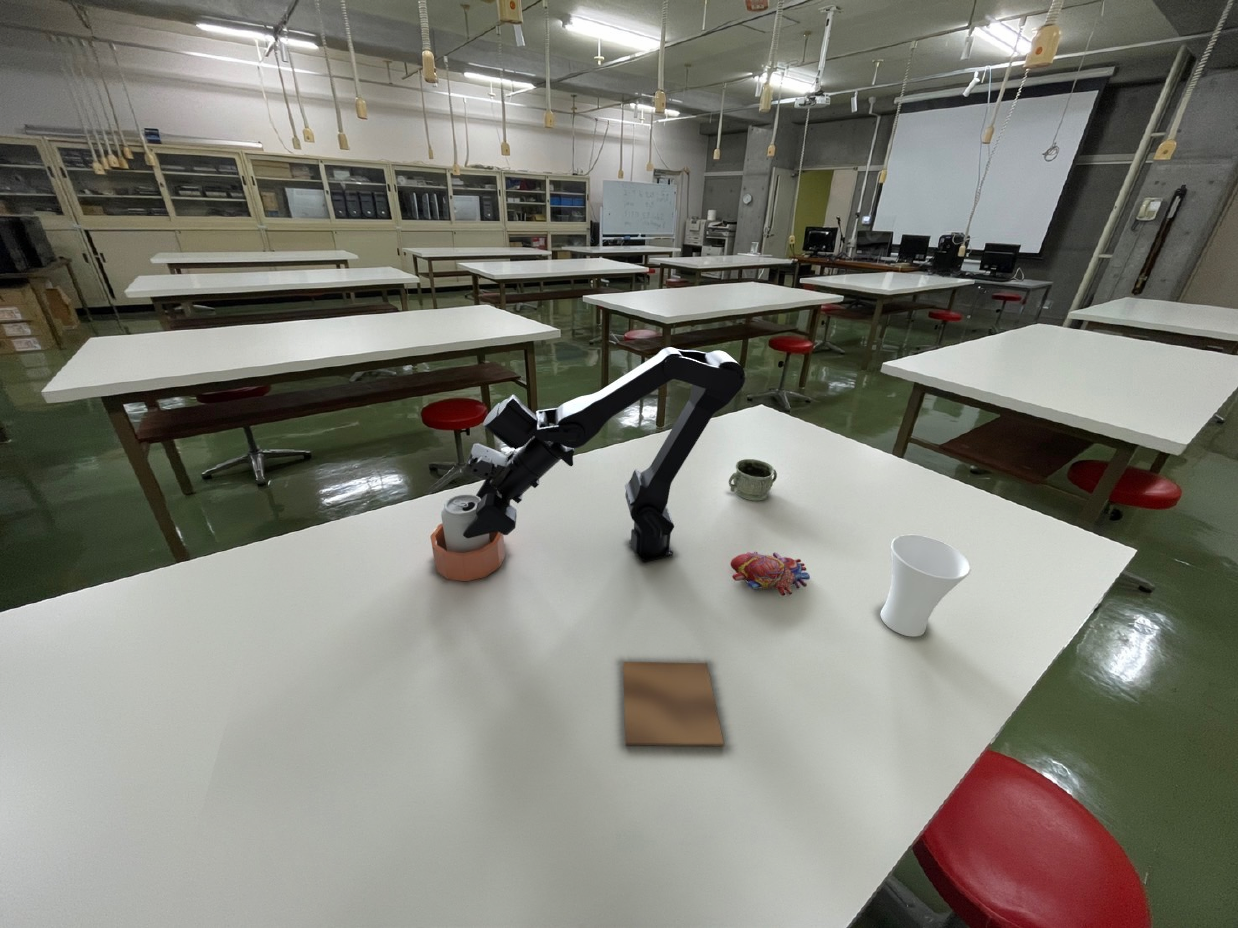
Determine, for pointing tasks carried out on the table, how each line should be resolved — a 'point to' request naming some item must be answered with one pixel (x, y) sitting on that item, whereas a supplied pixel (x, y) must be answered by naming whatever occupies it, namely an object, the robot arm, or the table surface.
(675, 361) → the robot arm
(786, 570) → the anatomical model
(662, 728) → the wooden coaster
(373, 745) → the table surface
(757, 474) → the vessel
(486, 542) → the can
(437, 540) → the pot
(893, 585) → the cup
